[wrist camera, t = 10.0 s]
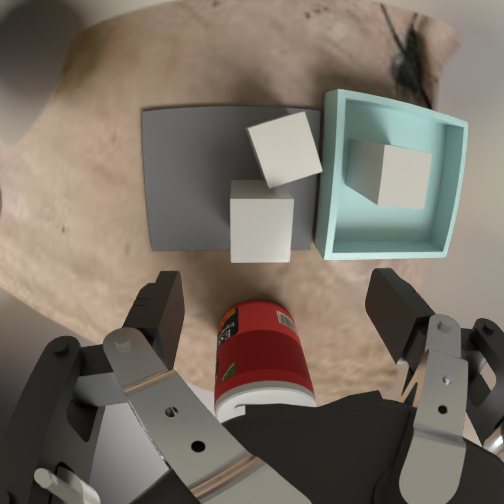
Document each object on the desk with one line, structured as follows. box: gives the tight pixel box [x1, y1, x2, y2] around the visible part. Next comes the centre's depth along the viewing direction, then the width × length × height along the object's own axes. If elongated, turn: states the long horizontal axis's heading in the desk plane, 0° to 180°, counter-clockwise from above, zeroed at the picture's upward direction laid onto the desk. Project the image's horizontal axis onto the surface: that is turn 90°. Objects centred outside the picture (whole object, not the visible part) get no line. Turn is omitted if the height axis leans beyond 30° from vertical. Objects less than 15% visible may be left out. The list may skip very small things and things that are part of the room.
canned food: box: [214, 300, 317, 423], centre depth 24 cm, size 8×8×11 cm
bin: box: [314, 89, 468, 260], centre depth 22 cm, size 13×13×3 cm
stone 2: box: [230, 180, 294, 263], centre depth 20 cm, size 4×4×6 cm
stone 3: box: [346, 138, 432, 209], centre depth 19 cm, size 4×4×6 cm
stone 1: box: [245, 112, 323, 189], centre depth 19 cm, size 4×4×5 cm
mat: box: [142, 106, 321, 251], centre depth 22 cm, size 14×12×1 cm
